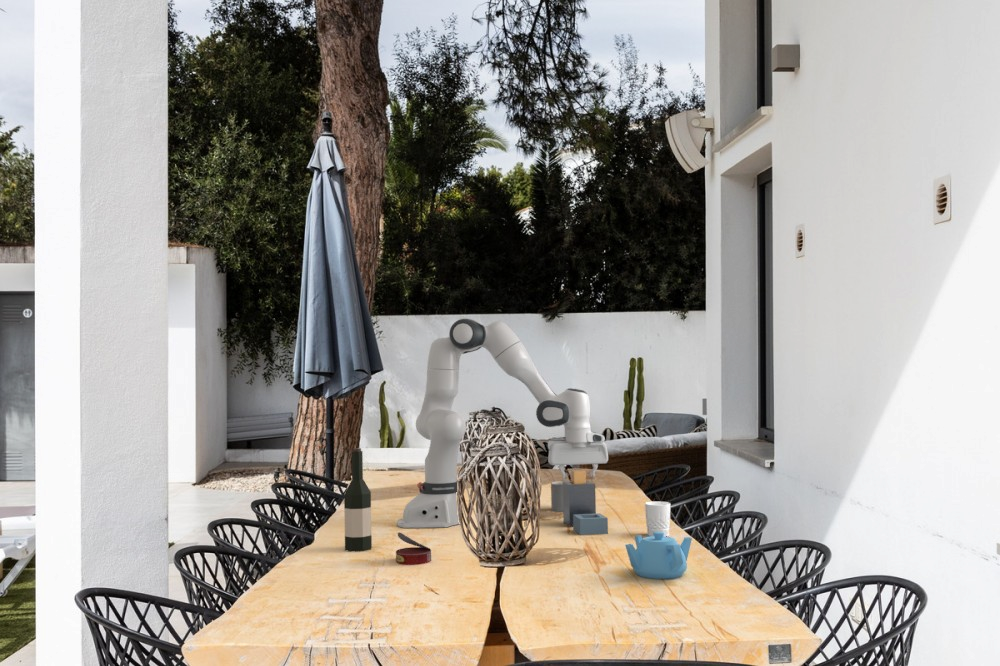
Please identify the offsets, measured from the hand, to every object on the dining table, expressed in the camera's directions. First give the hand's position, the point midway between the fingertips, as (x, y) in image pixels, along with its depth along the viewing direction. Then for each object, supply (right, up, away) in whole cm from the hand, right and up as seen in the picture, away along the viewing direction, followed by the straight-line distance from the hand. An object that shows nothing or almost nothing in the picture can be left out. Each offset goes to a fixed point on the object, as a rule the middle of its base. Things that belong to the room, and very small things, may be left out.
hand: (578, 477), depth 312 cm
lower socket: (+3, -15, -14) cm, 21 cm away
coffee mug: (-1, -17, +30) cm, 34 cm away
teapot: (+15, -14, -73) cm, 76 cm away
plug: (0, -5, 0) cm, 5 cm away
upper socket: (0, -16, 0) cm, 16 cm away
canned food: (-51, -15, -53) cm, 75 cm away
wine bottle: (-69, -16, -34) cm, 79 cm away
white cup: (+23, -15, -22) cm, 35 cm away
